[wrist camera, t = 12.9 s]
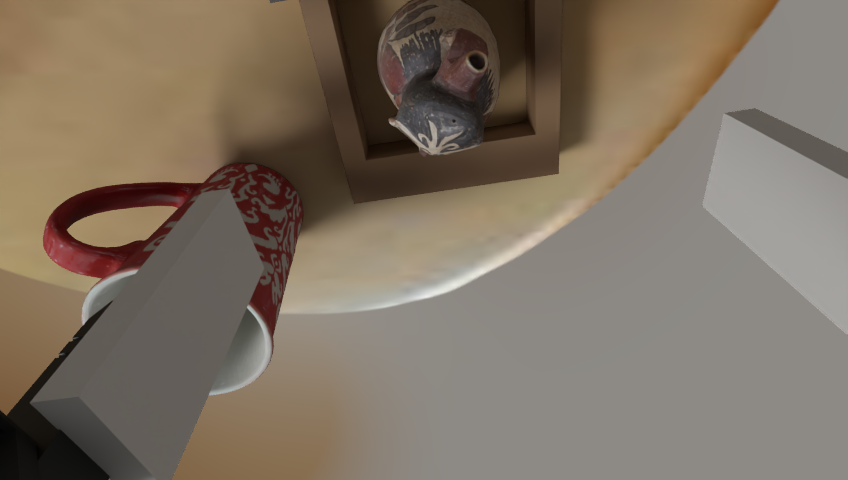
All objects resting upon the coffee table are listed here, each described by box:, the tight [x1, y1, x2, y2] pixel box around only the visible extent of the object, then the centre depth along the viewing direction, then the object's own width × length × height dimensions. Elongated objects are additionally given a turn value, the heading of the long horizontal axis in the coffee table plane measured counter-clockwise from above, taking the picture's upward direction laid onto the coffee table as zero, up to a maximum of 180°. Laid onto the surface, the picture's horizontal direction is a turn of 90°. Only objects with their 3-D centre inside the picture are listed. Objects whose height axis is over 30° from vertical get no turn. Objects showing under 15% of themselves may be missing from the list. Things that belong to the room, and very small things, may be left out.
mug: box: [43, 163, 303, 395], centre depth 27 cm, size 13×9×14 cm
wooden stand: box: [270, 0, 563, 204], centre depth 24 cm, size 18×14×8 cm
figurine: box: [377, 0, 500, 157], centre depth 23 cm, size 7×7×12 cm
